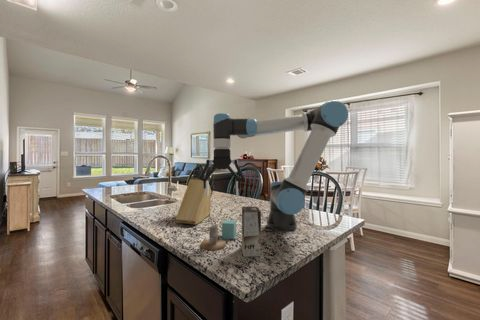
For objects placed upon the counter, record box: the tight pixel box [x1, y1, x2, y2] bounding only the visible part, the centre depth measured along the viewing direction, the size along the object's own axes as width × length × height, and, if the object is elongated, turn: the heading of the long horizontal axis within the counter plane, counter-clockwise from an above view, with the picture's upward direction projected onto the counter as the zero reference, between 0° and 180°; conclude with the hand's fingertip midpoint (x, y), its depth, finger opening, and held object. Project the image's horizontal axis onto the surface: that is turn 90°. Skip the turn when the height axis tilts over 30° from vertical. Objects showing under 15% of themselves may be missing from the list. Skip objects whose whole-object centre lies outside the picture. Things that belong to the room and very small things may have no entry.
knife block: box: [175, 163, 215, 226], centre depth 133 cm, size 11×35×31 cm, turn 170°
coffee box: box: [241, 206, 262, 258], centre depth 86 cm, size 9×6×16 cm
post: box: [200, 225, 227, 251], centre depth 92 cm, size 10×10×8 cm
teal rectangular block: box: [221, 219, 237, 240], centre depth 102 cm, size 5×5×7 cm
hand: (222, 196), depth 103 cm, fingers open, 13 cm apart
